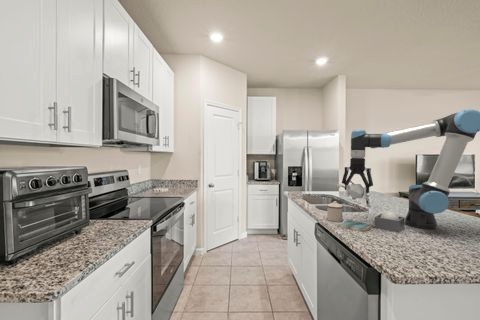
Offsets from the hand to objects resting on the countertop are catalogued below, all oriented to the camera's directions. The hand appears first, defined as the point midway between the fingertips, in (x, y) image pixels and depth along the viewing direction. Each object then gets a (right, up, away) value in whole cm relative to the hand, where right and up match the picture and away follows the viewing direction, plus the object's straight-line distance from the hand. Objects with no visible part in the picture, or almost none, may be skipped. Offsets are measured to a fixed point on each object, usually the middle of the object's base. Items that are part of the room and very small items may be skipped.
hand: (356, 197), depth 143 cm
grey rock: (0, 0, 0) cm, 1 cm away
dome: (+16, -15, -4) cm, 23 cm away
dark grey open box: (+16, -16, -4) cm, 23 cm away
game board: (-2, -16, -2) cm, 16 cm away
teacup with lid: (-8, -16, +13) cm, 22 cm away
